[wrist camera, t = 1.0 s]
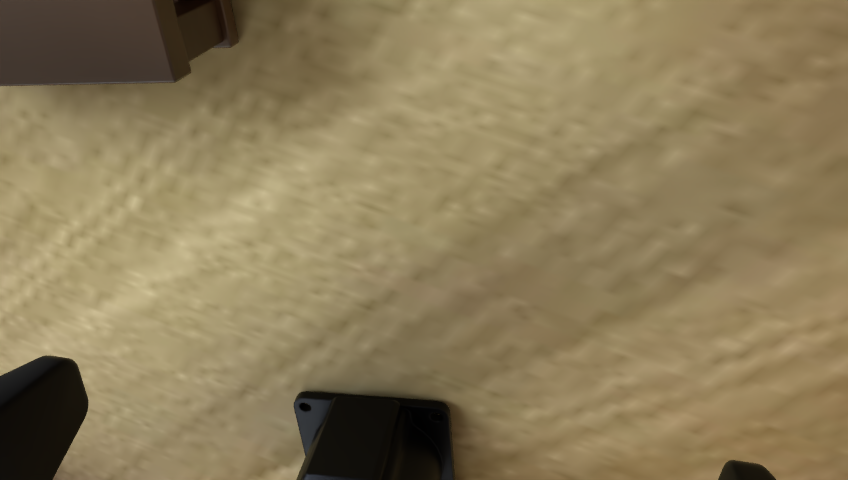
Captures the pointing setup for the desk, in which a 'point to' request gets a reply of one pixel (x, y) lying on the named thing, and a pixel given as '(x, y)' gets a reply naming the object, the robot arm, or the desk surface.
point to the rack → (108, 40)
